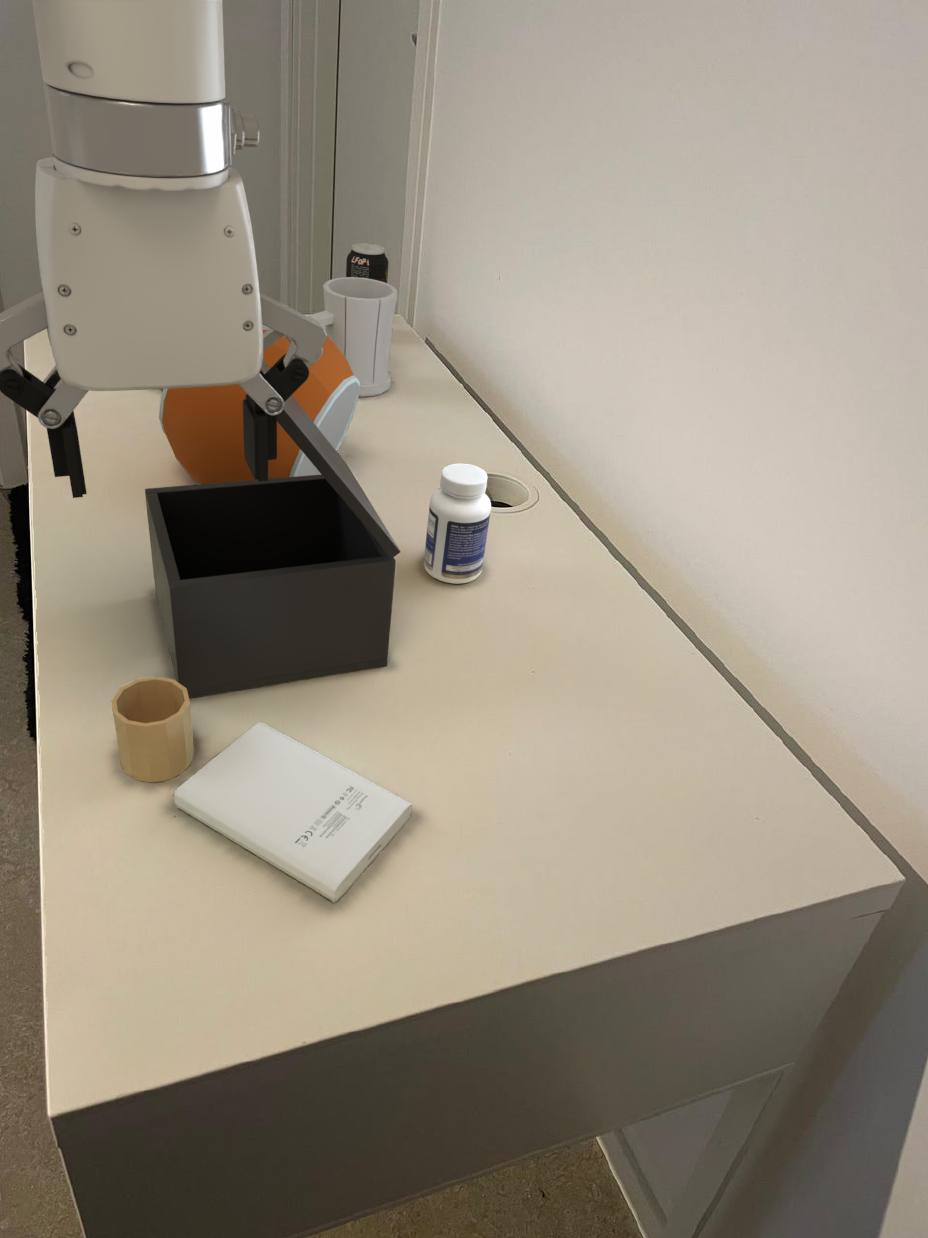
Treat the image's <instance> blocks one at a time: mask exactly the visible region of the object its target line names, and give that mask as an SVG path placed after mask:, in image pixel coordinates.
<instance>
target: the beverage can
mask: <svg viewBox="0 0 928 1238" xmlns="http://www.w3.org/2000/svg"><path fill="white" fill-rule="evenodd" d="M385 252H386V249H385V247H383V246H381V245H378V244H374V243H367V242H362V243H361V242H359V243H358V242H357V243H354V244H352V245H351V250H350V251H349V253H348V254H347V257H346V261H345V265H346V266H345V277H357V278H367V279H373V280H377V281H381V282H385V283H387V284H388V279H389V278H388V276H389V264H390V263H389V259H388V257H387V256H386V253H385Z"/></svg>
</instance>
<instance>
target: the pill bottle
mask: <svg viewBox="0 0 928 1238" xmlns="http://www.w3.org/2000/svg"><path fill="white" fill-rule="evenodd" d="M439 482H440V484H439V488H437V489H436V490H434V491H433V492H432V495H431V496H430V500H429V505H428V507H429V508H428V516H427V517H428V518H427V525H426V526H427V527H426V536H425V547H424V556H423V557H424V558H423V566H424V569H425V571H426V572H427V574H428V575H429V576H431V577H432V578H433V579H436V580H437V581H440V582H444V583H448V584H456V585H457V584H458V585H459V584H466V583H471V582H473V581H475V580H476V579H477V578H479V577H480V575H481V574H482V571H483V567H484V561H485V560H484V558H485V553H486V547H487V546H486V545H487V539H488V533H489V525H490V518H491V512H492V501H491V499H490V498H489V496H488V495H487V494H486V490H487V486H488V474H487V472H486V471H485V470H484V468H483V469H482V468H481V467H479V466H477V465H474V464H471V463H470V464H469V463H463V462H462V463H461V462H460V463H459V462H458V463H451V464H448V465H445V466H444V467H443V468H442V469H441V472H440V480H439Z"/></svg>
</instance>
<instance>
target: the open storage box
mask: <svg viewBox="0 0 928 1238" xmlns="http://www.w3.org/2000/svg"><path fill="white" fill-rule="evenodd" d="M144 495H145V505H146V513H147V514H146V515H147V526H148V532H149V533H148V534H149V542H150V543H149V544H150V554H151V560H152V561H151V563H152V571H153V581H154V592H155V596H156V601H157V606H158V610H159V615H160V618H161V622H162V628H163V631H164V636H165V640H166V645H167V649H168V653H169V658H170V662H171V666H172V671H173V675H174V680H176V681H177V682H178V683H180V684H181V685H183V686H184V687H185V688H187V691H188V695H189V700H191V699H196V698H202V697H207V696H208V697H209V696H213V695H219V694H225V693H231V692H238V691H244V690H249V689H257V688H261V687H269V686H273V685H274V686H275V685H280V684H286V683H292V682H298V681H304V680H310V679H317V678H322V677H323V678H324V677H328V676H329V677H330V676H336V675H341V674H347V673H353V672H358V671H364V670H370V669H371V670H372V669H377V668H383V667H387V666H388V659H389V658H388V657H389V648H390V647H389V646H390V635H391V624H392V611H393V602H394V601H393V599H394V588H395V576H396V575H395V574H396V563H397V561H396V559H395V557H393V558H391V557H390V556H389V554H388V553H387V552H386V551H385V550H384V548H383V547H382V546H381V545H380V544H379V542H378V541H377V540H376V539H375V538H374V537H373V535H372V534H371V533H370V532H369V531H368V529H367V528H366V527H365V526H364V525H363V523H362V522H361V521H360V520H359V519H358V517H357V516H356V515H355V514H354V513H353V511H352V510H351V509H350V508H349V507H348V505H347V504H346V503H345V502H344V501H343V499H342V498H341V497H340V496H339V495H338V494H337V492H336V491H335V490H334V489H333V488H332V486H331V485H330V484H329V483H328V482H327V480H326V479H325V478H324V477H323V476H322V475H310V476H298V477H285V478H273V479H268V481H260V482H258V480H248V481H235V482H223V483H210V484H199V483H198V484H186V485H174V486H163V487H149V488H145V489H144Z"/></svg>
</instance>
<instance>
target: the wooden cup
mask: <svg viewBox="0 0 928 1238" xmlns="http://www.w3.org/2000/svg"><path fill="white" fill-rule="evenodd" d="M111 709H112V715H113V722H114V730H115V735H116V741H117V748H118V754H119V761H120V766H121V768H122V770H123V771H124V773H125V774H126V775H128V776H129V777H130V778H132V779H134V780H137V781H141V782H145V783H159V782H165V781H169V780H171V779H173V778H175V777H178V776H179V775H181V774H182V773H183V772H185V771H186V770H187V769H188V767H189V766H191V764H192V761H193V759H194V754H195V745H194V735H193V733H194V732H193V723H192V711H191V699H189V695H188V691H187V688H185V687H184V686H183V685H181V684H180V683H178V682H177V681H176V680H175V678H174V679H172V678H167V677H162V676H155V675H154V676H150V677H143V678H137V679H134V680H133V681H130V682H128V683H127V684H125V685H123V686H121V687H119V689H118V690H117V692H116V693H115V694H114V696H113V698H112V699H111Z"/></svg>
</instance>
